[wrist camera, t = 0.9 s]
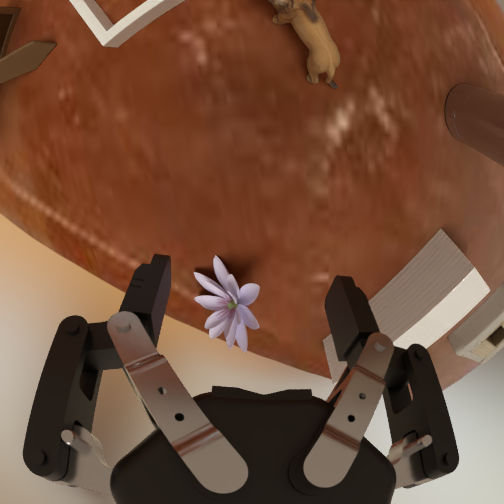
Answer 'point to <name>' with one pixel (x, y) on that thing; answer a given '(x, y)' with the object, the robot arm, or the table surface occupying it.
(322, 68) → the lion figurine
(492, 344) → the box
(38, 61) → the photo frame
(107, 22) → the low pen
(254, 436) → the robot arm
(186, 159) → the table surface
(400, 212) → the table surface
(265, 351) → the table surface
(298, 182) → the table surface
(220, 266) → the water lily
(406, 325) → the stack of papers
